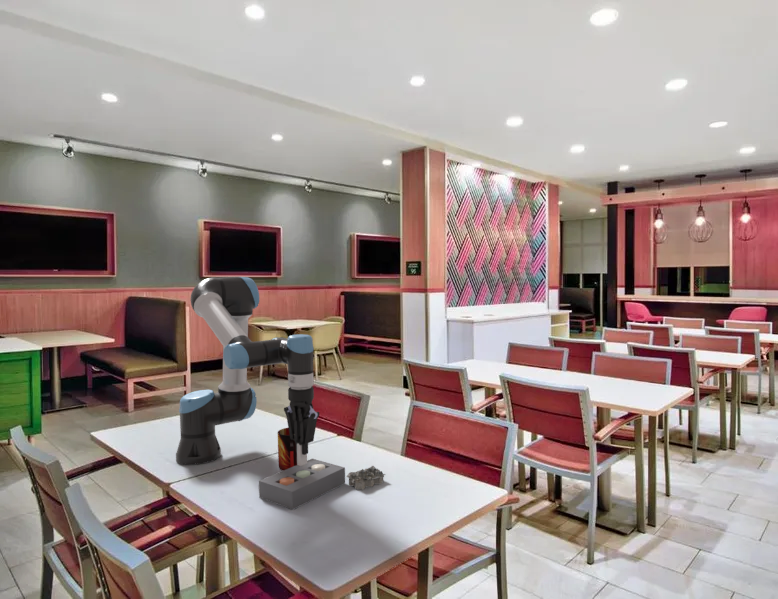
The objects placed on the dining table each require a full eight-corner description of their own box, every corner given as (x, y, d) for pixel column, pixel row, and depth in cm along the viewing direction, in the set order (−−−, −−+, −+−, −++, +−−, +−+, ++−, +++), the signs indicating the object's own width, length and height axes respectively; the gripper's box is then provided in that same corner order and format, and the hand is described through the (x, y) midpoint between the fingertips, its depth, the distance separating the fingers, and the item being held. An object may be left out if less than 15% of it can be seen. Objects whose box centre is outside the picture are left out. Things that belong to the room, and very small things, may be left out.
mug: (291, 477, 168) (290, 440, 168) (273, 465, 179) (272, 430, 179) (318, 470, 174) (317, 434, 173) (299, 458, 185) (298, 425, 184)
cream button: (308, 477, 163) (308, 467, 162) (318, 473, 166) (318, 463, 166) (318, 480, 160) (318, 469, 160) (328, 475, 163) (327, 465, 163)
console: (259, 497, 153) (258, 480, 153) (312, 473, 171) (312, 458, 171) (292, 509, 145) (292, 491, 145) (345, 483, 163) (344, 467, 162)
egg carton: (357, 492, 157) (357, 478, 156) (345, 484, 163) (344, 471, 163) (387, 483, 163) (386, 470, 162) (374, 476, 169) (373, 463, 169)
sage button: (293, 484, 157) (293, 473, 157) (303, 479, 161) (303, 469, 161) (303, 487, 155) (303, 476, 155) (313, 482, 158) (313, 472, 158)
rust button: (276, 491, 152) (276, 480, 152) (287, 486, 156) (287, 476, 155) (286, 495, 150) (286, 484, 150) (297, 490, 153) (297, 479, 153)
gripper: (276, 386, 157) (277, 463, 159) (307, 392, 149) (308, 473, 151) (294, 381, 163) (296, 455, 165) (325, 387, 156) (326, 465, 157)
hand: (302, 464), depth 158 cm, fingers closed
